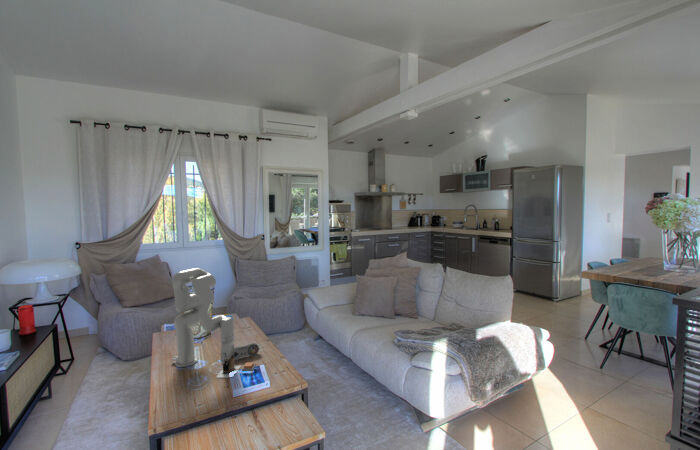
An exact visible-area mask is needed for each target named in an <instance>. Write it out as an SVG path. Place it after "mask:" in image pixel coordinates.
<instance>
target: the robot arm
mask: <svg viewBox="0 0 700 450" xmlns="http://www.w3.org/2000/svg"><path fill="white" fill-rule="evenodd" d="M171 284H172V288H173V294H174V302H175V303H174V304H175V306H174V307H175V311H177V312H178V313H181V314H179V315H177V316H176V317H175V319H174V321H173V325H174V328H175V329H174V330H175V332H176V348H177V355H173V356H172V357H171V359H172V360H171V361H175V367H177V368H186V367H189V366H192V365H194V364H196V363H197V362H198V358H197V357H196V356H195V341H194V339H195V338H194V332H193V331H192V330H191V328H192V327H194V326H196V325H198V324H200V325H201V326H202V329H203V330H204V331H205V332H206V333H213V332H214V331H217V330H218V329H220V333H219V334H220V343H221V344H220V360H221V364H222V369H223V371H228V370H229V364H228V360H229V359H230V358H234V347H235V325H234V318H233V317H232V316H226V315H224V314H218V315H216V316H213V317H210V315H209V312H208V311H209V307H210V305H211V304H212V303H213V302H214V301H215V295H214V293H213V292H212V289H211V288H213V287H215V286H216V284H217V281H216V278H215V277H214V275H212V273H210V272H208V271H206V270H204V269H202V268H199V267H195V268H190V269H189V268H188V269H184V270H181V271H178V272H176V273H174V274H173V275H172V279H171ZM187 284H191V285H192V286H191V287H192V288H193V290H194V293H190V288H189V286H188V285H187ZM225 358H227V359H225ZM225 360H227V362H226V361H225Z"/></svg>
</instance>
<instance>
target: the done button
mask: <svg viewBox="0 0 700 450" xmlns="http://www.w3.org/2000/svg"><path fill="white" fill-rule="evenodd" d="M254 364H255V363H254V362H245V364H244V365H243V366H244V368H252V367H253V366H254Z"/></svg>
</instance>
